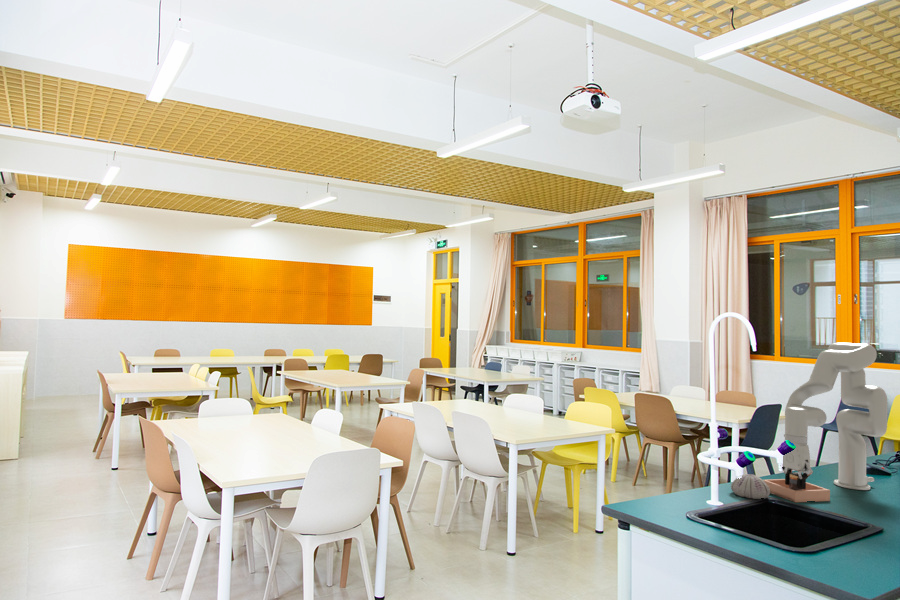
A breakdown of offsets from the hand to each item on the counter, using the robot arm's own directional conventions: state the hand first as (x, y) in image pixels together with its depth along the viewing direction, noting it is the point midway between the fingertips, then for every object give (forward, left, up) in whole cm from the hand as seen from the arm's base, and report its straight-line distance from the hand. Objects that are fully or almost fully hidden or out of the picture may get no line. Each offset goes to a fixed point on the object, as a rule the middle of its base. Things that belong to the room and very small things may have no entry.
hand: (795, 486), depth 226 cm
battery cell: (0, 0, -2) cm, 2 cm away
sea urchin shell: (+19, -2, -4) cm, 19 cm away
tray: (0, 0, -3) cm, 3 cm away
